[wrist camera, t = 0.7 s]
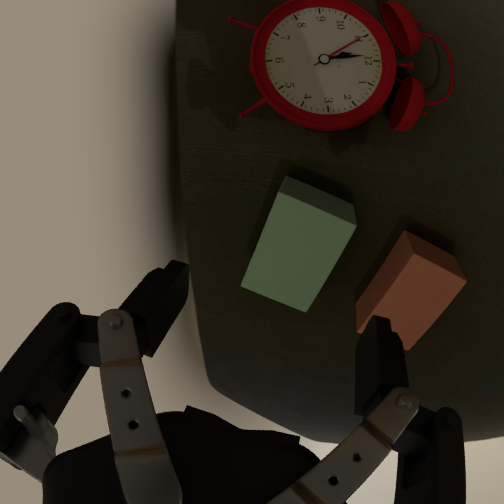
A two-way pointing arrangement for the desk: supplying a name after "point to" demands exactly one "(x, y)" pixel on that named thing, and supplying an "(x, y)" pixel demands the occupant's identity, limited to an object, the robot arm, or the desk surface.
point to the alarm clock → (337, 64)
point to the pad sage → (299, 244)
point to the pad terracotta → (411, 288)
